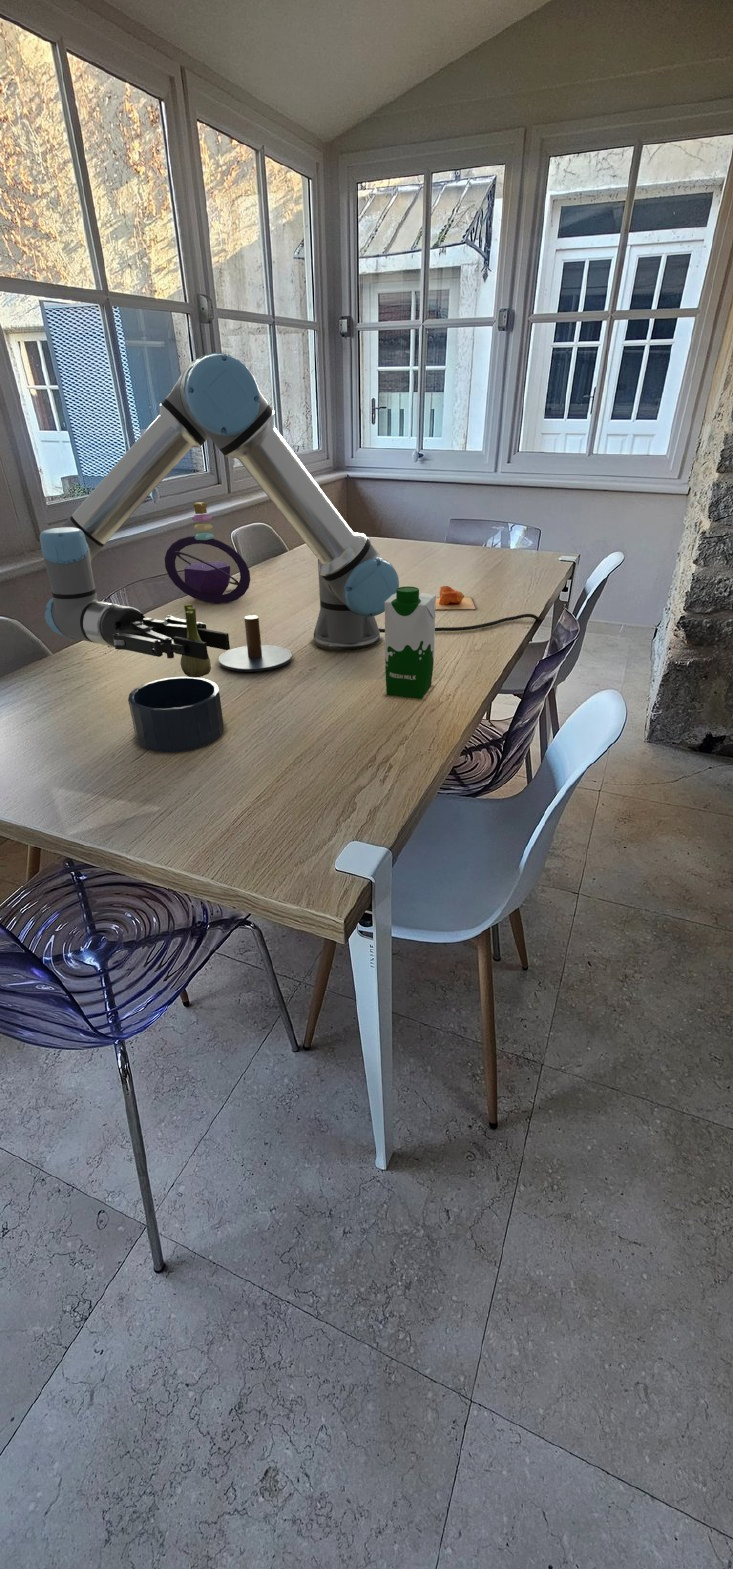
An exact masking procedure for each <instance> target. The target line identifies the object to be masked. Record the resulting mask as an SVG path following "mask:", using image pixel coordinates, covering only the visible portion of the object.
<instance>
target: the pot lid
mask: <svg viewBox="0 0 733 1569" xmlns="http://www.w3.org/2000/svg"><path fill="white" fill-rule="evenodd" d="M259 617H260V616H259V615H255V614H254V615H253V614H252V615H251V614H250V615H246V616H244V617H243V621H244V630H245V639H246V645H243V646H238V647H234V648H230V649H229V650H225V651H224V652H222V653H221V654H220V655H219V657H218V664H219V665H220V666H221V667H223V668H224V669H227V670H229V671H230V670H231V671H235V672H248V673H249V672H263V671H268V670H269V671H270V670H275V669H277V668H281V667H283V666H285V665H286V664H288V663H290V662H291V660H292V657H293V655H292V652H291V651H290V650H289V649H287V648H285V647H284V646H283V647H282V646H278V645H273V644H262V638H261V629H260V628H261V627H260V618H259Z"/></svg>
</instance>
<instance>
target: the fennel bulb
mask: <svg viewBox="0 0 733 1569" xmlns="http://www.w3.org/2000/svg"><path fill="white" fill-rule="evenodd" d="M183 609H184V615H185V620H186V625H187V639H192V640H197V641H202V640H201V638H200V636H199V634H198V631H197V623H196V622H197V614H196V613H197V611H196V608H195V607H194V605H193V604H192V603H185V604H184V605H183ZM180 668H181V670H182V672H183V674H184V675H185V676H186V677H192V678H203V677H204V676H207V675H209V674H210V672H211V671H212V665H211V659H210V655H209V654H208V659H206V660H203V659H199V658H194V657H189V656H185V655H181V657H180Z"/></svg>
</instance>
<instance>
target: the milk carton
mask: <svg viewBox="0 0 733 1569" xmlns="http://www.w3.org/2000/svg"><path fill="white" fill-rule="evenodd" d="M436 598H437V594H434V593H420V588H419V587H416V586H399V588H397V590H396V593H395V594H393V595H391V597H390V598H389V599H387V600H386V601H385V602H384V603H385V611H384V629H385V633H384V678H385V690H386V694H385V695H386V696H389V697H397V698H404V699H405V698H406V699H415V700H423V699H424V697H425V696H426V694H427V693H428V692H429V690H430V689H431V687H432V682H433V673H434V664H435V662H434V661H435V639H436V638H435V637H436V631H435V628H436V609H435V602H436Z"/></svg>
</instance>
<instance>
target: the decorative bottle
mask: <svg viewBox="0 0 733 1569" xmlns="http://www.w3.org/2000/svg"><path fill="white" fill-rule="evenodd" d="M207 507H208V504H207V502H203V501H202V502H194V503H193V508H194V512H195V514H194V515H193V517H192V518H191V520H192V521H193V522H206V521H211V520H212V519H213V517H212V516H211V515H210V514H208V511H207ZM213 528H214V526H213V525H212V524H209V523H196V524H195V525H194V526H193V527H192V529H193V530H194V531H196V532H197V531H198V533H196V535H188V536H185V537H182V538H179V539H177V540H176V541H174V542H173V543H172V544H171V545H170V546H169V547H168V548H167V549H166V552H165V555H164V568H165V570H166V573H167V575H168V577H169V579H170V580H171V582H172V583H173V584H174V585H175V586H176V587H177V588H178V589H179V590H180V591H181V592H183V593H184V594H186V595H187V596H189V597H191V598H193V599H194V600H198V601H200V602H204V603H207V604H208V603H209V604H215V605H219V604H221V605H222V604H229V603H232V602H235V601H237V600H239V599H240V598H241V597H243V596H244V595H245V594H246V593H247V591H248V590H249V588H250V584H251V571H250V568H249V567H248V564H247V562H246V561H245V559H244V558H243V557H242V555H241V554H240V553H239V552H238V551H237V550H235V549H234V548H233V547H232V546H230V545H228V544H227V543H225V542H223V541H221V540H219V539H217V538H214V537H215V535H214V534H213V533H211V532H210V533H209V532H206V531H208V530H209V531H210V530H213ZM200 531H201V532H200ZM202 531H203V532H202ZM199 532H200V533H199ZM192 545H208V546H211V547H214V548H218V549H219V550H221V551H223V552H224V553H226V555H227V556H229V557H231V558H232V560H233V562H234V563H236V565H237V568H238V570H239V581H238V579H236V578H235V577H233V576H232V575H231V565H230V564H228V563H226V562H225V561H223V560H214V561H206V560H202V559H200V558H198V557H196V556H193V555H191V554H189V553H186V552H182V551H181V550H183V549H185V548H186V547H189V546H192ZM215 554H216V555H217V552H216V553H215ZM182 556H185V557H188V558H191V559H192V562H190V561H189V560H187V559H185V558H184V557H182ZM177 557H178V558H179V559H180V560H182V561H183V562H184V563H187V564H188V566H186V567H184V570H183V571H184V573H183V574H184V580H183V579H182V578H181V576H180V575H179V573H178V570H177V566H176V559H177ZM193 560H196V561H195V562H194V561H193ZM197 561H198V562H197ZM231 580H232V581H231ZM231 584H232V585H235V586H236V587H235V588H234V589H232V590H231V591H230V592H227V593H225V592H226V590H227V588H228V587H229V585H231Z"/></svg>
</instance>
